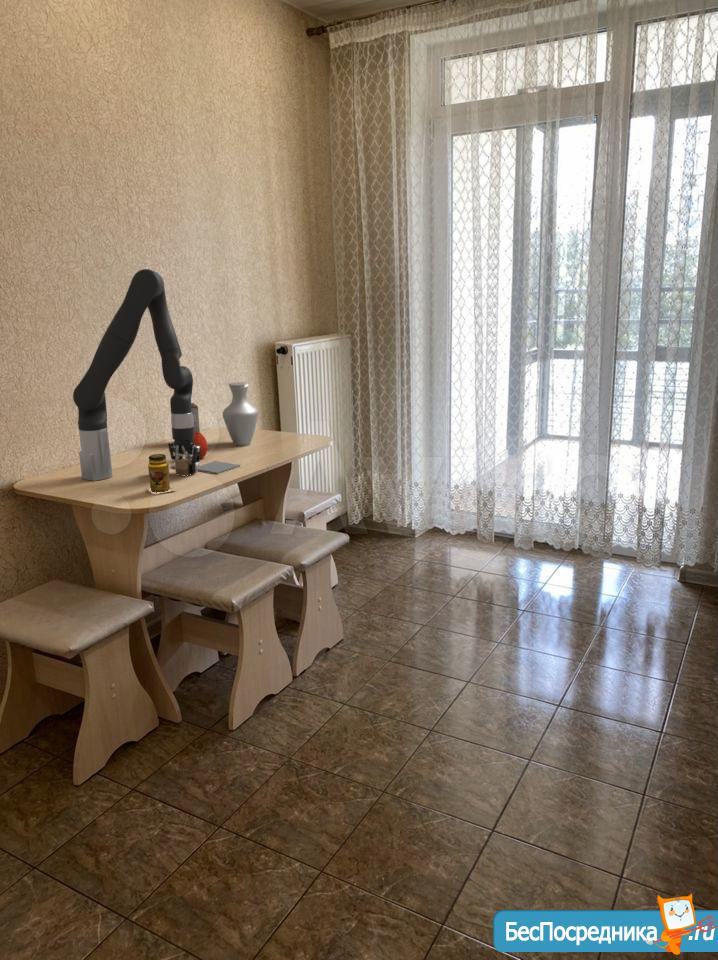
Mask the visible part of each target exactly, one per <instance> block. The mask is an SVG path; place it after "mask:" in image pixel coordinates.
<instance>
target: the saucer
mask: <svg viewBox="0 0 718 960" xmlns="http://www.w3.org/2000/svg"><path fill="white" fill-rule="evenodd" d="M199 463H200V461H199V462H196V467H198V466H200V464H199ZM173 468H174V469H176V468H175V461H174V462H173Z"/></svg>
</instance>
